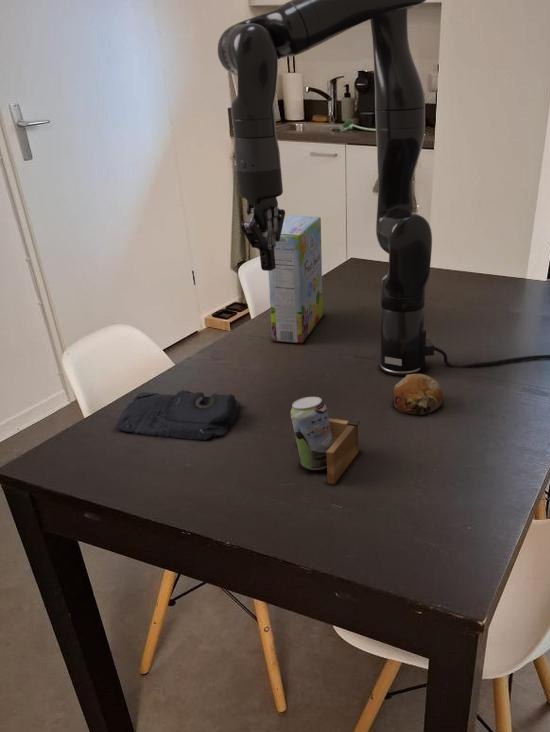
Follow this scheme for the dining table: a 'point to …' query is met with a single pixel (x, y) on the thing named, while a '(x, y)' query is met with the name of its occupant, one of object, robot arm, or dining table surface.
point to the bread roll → (417, 394)
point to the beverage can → (311, 432)
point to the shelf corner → (341, 447)
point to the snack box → (296, 280)
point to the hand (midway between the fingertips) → (268, 269)
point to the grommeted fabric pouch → (179, 415)
